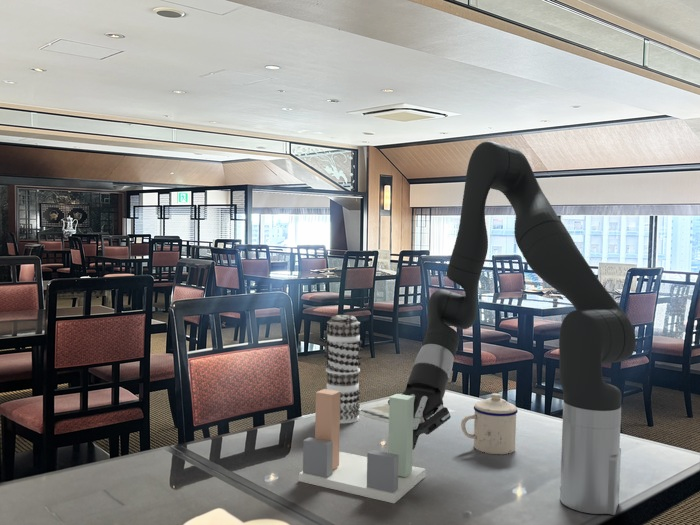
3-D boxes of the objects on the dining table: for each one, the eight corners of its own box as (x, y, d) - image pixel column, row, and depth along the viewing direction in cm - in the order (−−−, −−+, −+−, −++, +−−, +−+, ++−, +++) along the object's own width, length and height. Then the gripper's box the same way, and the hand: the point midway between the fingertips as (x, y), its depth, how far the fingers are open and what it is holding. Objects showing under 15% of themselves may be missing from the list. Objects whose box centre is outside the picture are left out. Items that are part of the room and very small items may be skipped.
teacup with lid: (505, 440, 145) (507, 388, 145) (523, 454, 136) (525, 399, 136) (453, 442, 143) (455, 389, 143) (468, 457, 134) (470, 400, 134)
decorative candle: (348, 426, 153) (350, 319, 152) (315, 419, 158) (317, 316, 157) (367, 417, 161) (370, 315, 160) (336, 411, 166) (338, 312, 165)
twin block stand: (425, 476, 123) (426, 437, 123) (394, 503, 111) (395, 459, 110) (336, 458, 132) (337, 421, 131) (298, 481, 120) (299, 440, 119)
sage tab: (412, 471, 120) (413, 396, 120) (405, 477, 118) (407, 399, 117) (394, 468, 122) (396, 393, 121) (387, 473, 119) (389, 397, 119)
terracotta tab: (339, 465, 123) (340, 391, 122) (331, 470, 120) (332, 394, 119) (322, 462, 124) (324, 388, 124) (314, 466, 122) (315, 392, 121)
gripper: (395, 357, 132) (367, 433, 122) (458, 365, 126) (433, 446, 116) (405, 378, 137) (378, 453, 127) (466, 387, 131) (443, 466, 121)
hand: (405, 449), depth 122 cm, fingers closed
